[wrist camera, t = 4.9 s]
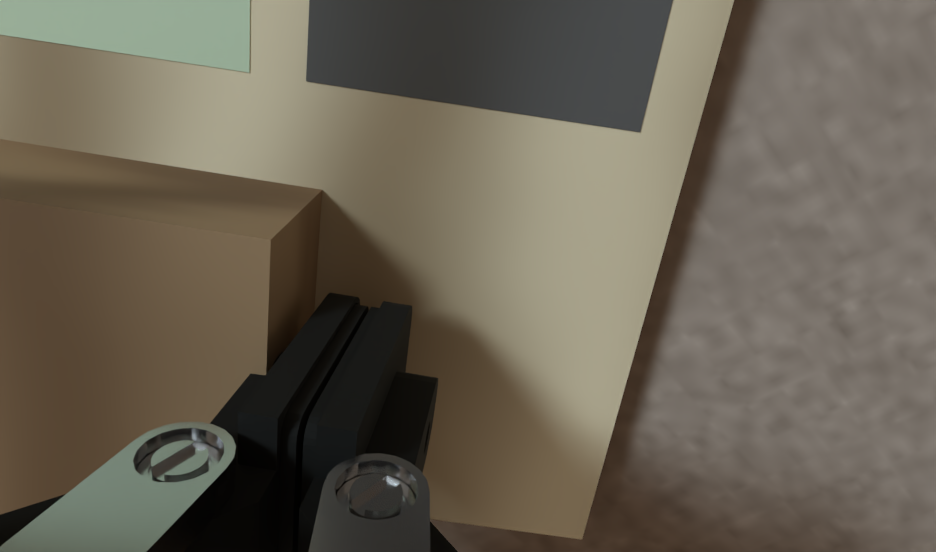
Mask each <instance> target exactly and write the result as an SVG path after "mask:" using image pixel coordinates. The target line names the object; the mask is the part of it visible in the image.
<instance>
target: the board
mask: <svg viewBox="0 0 936 552" xmlns="http://www.w3.org/2000/svg"><path fill="white" fill-rule="evenodd" d="M733 3H734V0H250V73H248V72H242V71H235V70H229V69H222V68H215V67H209V66H202V65H196V64H189V63H183V62H176V61H170V60H163V59H156V58H150V57H143V56H137V55H130V54H124V53H117V52H111V51H104V50H97V49H91V48H84V47H78V46H71V45H65V44H58V43H52V42H45V41H38V40H32V39H25V38H19V37H12V36H6V35H0V139H3V140H10V141H16V142H22V143H29V144H35V145H41V146H48V147H54V148H60V149H67V150H73V151H79V152H86V153H92V154H99V155H105V156H111V157H118V158H124V159H130V160H137V161H143V162H149V163H156V164H162V165H168V166H175V167H181V168H187V169H194V170H200V171H206V172H213V173H219V174H225V175H232V176H238V177H244V178H251V179H257V180H263V181H270V182H276V183H283V184H289V185H295V186H302V187H308V188H314V189H321V190H322V202H321V217H320V232H319V248H318V263H317V279H316V294H315V309H314V311H315V310H316V309H317V308H318V306H319V305H320V304H321V302H322V301H323V300H324V298H325V297H326V296H327V294H329V293H336V294H342V295H348V296H354V297H359V299H360V305H363V306H368V308H369V309H370V308H371V307H376V308H380V306H381V304H382V303H383V301H386V302H392V303H398V304H404V305H410V306H412V320H411V329H410V337H409V346H408V355H407V363H406V373H412V374H418V375H424V376H430V377H436V378H438V389H437V396H436V403H435V410H434V417H433V424H432V430H431V435H430V441H429V446H428V451H427V456H426V460H425V465H424V469H423V475H424V476H425V478H426V479H427V482H428V486H429V490H430V519H433V520H440V521H447V522H455V523H462V524H470V525H477V526H484V527H492V528H499V529H507V530H514V531H521V532H529V533H536V534H544V535H551V536H559V537H566V538H573V539H581V540H582V538H583V535H584V531H585V527H586V524H587V520H588V517H589V513H590V510H591V506H592V503H593V499H594V496H595V492H596V488H597V485H598V481H599V478H600V474H601V471H602V467H603V464H604V460H605V457H606V453H607V450H608V446H609V442H610V439H611V435H612V432H613V428H614V425H615V421H616V418H617V414H618V411H619V407H620V403H621V400H622V396H623V393H624V389H625V386H626V382H627V379H628V375H629V372H630V368H631V364H632V361H633V357H634V354H635V350H636V347H637V343H638V340H639V336H640V333H641V329H642V325H643V322H644V318H645V315H646V311H647V308H648V304H649V301H650V297H651V294H652V290H653V286H654V283H655V279H656V276H657V272H658V269H659V265H660V262H661V258H662V255H663V251H664V248H665V244H666V240H667V237H668V233H669V230H670V226H671V223H672V219H673V216H674V212H675V209H676V205H677V201H678V198H679V194H680V191H681V187H682V184H683V180H684V177H685V173H686V170H687V166H688V162H689V159H690V155H691V152H692V148H693V145H694V141H695V138H696V134H697V131H698V127H699V123H700V120H701V116H702V113H703V109H704V106H705V102H706V99H707V95H708V92H709V88H710V84H711V81H712V77H713V74H714V70H715V67H716V63H717V60H718V56H719V53H720V49H721V45H722V42H723V38H724V35H725V31H726V28H727V24H728V21H729V17H730V14H731V10H732V7H733Z"/></svg>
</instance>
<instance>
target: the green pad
mask: <svg viewBox="0 0 936 552" xmlns="http://www.w3.org/2000/svg"><path fill="white" fill-rule="evenodd" d="M0 35H6V36H12V37H19V38H25V39H32V40H38V41H45V42H52V43H58V44H65V45H71V46H78V47H84V48H91V49H97V50H104V51H111V52H117V53H124V54H130V55H137V56H143V57H150V58H156V59H163V60H170V61H176V62H183V63H189V64H196V65H202V66H209V67H215V68H222V69H229V70H235V71H242V72H248V73H250V0H0Z"/></svg>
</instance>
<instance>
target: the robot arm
mask: <svg viewBox="0 0 936 552" xmlns="http://www.w3.org/2000/svg"><path fill="white" fill-rule="evenodd" d="M411 320H412V306H410V305H404V304H398V303H392V302H386V301H383V303H382V304H381V306H380V308H376V307H371V308H370V309H369V308H368V306H363V305H360V299H359V297H354V296H348V295H342V294H336V293H329V294H327V296H326V297H325V298H324V300H323V301H322V302H321V304H320V305H319V306H318V308H317V309H316V310H315V311H314V313H313V314H312V315H311V317H310V318H309V319H308V321H307V322H306V323H305V324H304V326H303V327H302V328H301V330H300V331H299V332H298V334H297V335H296V336H295V337H294V339H293V340H292V341H291V343H290V344H289V345H288V347H287V348H286V349H285V351H284V352H282V353H281V354H280V355H279V356H278V358H277V359H276V361H275V362H274V364H273V365H272V367H271V369H270V370H269V371H268V373H267V374H266V375H258V374H251V373H250V375H249V376H248V377H247V378H246V380H245V381H244V382H243V383H242V384H241V386H240V387H239V388H238V389H237V391H236V392H235V393H234V394H233V396H232V397H231V398H230V399H229V400H228V402H227V403H226V404H225V405H224V407H223V408H222V409H221V410H220V411H219V413H218V414H217V415H216V416H215V418H214V419H213V420H212V421H211V422H210V424H208V423H203V422H179V423H174V424H169V425H164V426H161V427H159V428H156V429H153V430H151V431H148V432H147V433H145V434H143V435H142V436H140V437H138V438H137V439H135V440H134V441H133V442H131V443H130V444H129V445H128V446H126V447H125V448H124V449H122V450H121V451H120V452H119V453H117V454H116V455H115V456H114V457H112V458H111V459H110V460H109V461H107V462H106V463H105V464H104V465H102V466H101V467H100V468H99V469H97V470H96V471H95V472H93V473H92V474H91V475H90V476H88V477H87V478H86V479H85V480H83V481H82V482H81V483H80V484H78V485H77V486H76V487H75V488H73V489H72V490H71V491H69V492H68V493H67V494H64V495H61V496H58V497H55V498H51V499H48V500H45V501H42V502H39V503H36V504H32V505H29V506H26V507H23V508H20V509H17V510H13V511H10V512H7V513H4V514H1V515H0V552H457V550H456V549H455V548H454V547H453V546H452V545H451V544H450V543H449V542H448V541H447V539H446V538H445V537H444V536H443V535H442V534H441V533H440V532H439V531H438V530H437V529H436V527H435V526H434V525H433V524H432V523H431V522H430V490H429V486H428V482H427V479H426V478H425V476H424V475H423V469H424V465H425V460H426V456H427V451H428V446H429V441H430V435H431V430H432V424H433V417H434V410H435V403H436V396H437V389H438V378H436V377H430V376H424V375H418V374H412V373H406V363H407V355H408V346H409V337H410V329H411Z"/></svg>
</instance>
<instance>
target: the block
mask: <svg viewBox="0 0 936 552" xmlns="http://www.w3.org/2000/svg"><path fill="white" fill-rule="evenodd" d="M321 202H322V190H321V189H314V188H308V187H302V186H295V185H289V184H283V183H276V182H270V181H263V180H257V179H251V178H244V177H238V176H232V175H225V174H219V173H213V172H206V171H200V170H194V169H187V168H181V167H175V166H168V165H162V164H156V163H149V162H143V161H137V160H130V159H124V158H118V157H111V156H105V155H99V154H92V153H86V152H79V151H73V150H67V149H60V148H54V147H48V146H41V145H35V144H29V143H22V142H16V141H10V140H3V139H0V515H1V514H4V513H7V512H10V511H13V510H17V509H20V508H23V507H26V506H29V505H32V504H36V503H39V502H42V501H45V500H48V499H51V498H55V497H58V496H61V495H64V494H67V493H68V492H69V491H71V490H72V489H73V488H75V487H76V486H77V485H78V484H80V483H81V482H82V481H83V480H85V479H86V478H87V477H88V476H90V475H91V474H92V473H93V472H95V471H96V470H97V469H99V468H100V467H101V466H102V465H104V464H105V463H106V462H107V461H109V460H110V459H111V458H112V457H114V456H115V455H116V454H117V453H119V452H120V451H121V450H122V449H124V448H125V447H126V446H128V445H129V444H130V443H131V442H133V441H134V440H135V439H137V438H138V437H140V436H142V435H143V434H145V433H147V432H148V431H151V430H153V429H156V428H159V427H161V426H164V425H169V424H174V423H179V422H203V423H208V424H210V422H211V421H212V420H213V419H214V418H215V416H216V415H217V414H218V413H219V411H220V410H221V409H222V408H223V407H224V405H225V404H226V403H227V402H228V400H229V399H230V398H231V397H232V396H233V394H234V393H235V392H236V391H237V389H238V388H239V387H240V386H241V384H242V383H243V382H244V381H245V380H246V378H247V377H248V376H249V375H250V373H251V374H258V375H266V374H267V373H268V371H269V370H270V369H271V367H272V365H273V364H274V362H275V361H276V359H277V358H278V356H279V355H280V354H281V353H282V352H284V351H285V349H286V348H287V347H288V345H289V344H290V343H291V341H292V340H293V339H294V337H295V336H296V335H297V334H298V332H299V331H300V330H301V328H302V327H303V326H304V324H305V323H306V322H307V321H308V319H309V318H310V317H311V315H312V314H313V313H314V309H315V294H316V279H317V263H318V248H319V232H320V217H321Z"/></svg>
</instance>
